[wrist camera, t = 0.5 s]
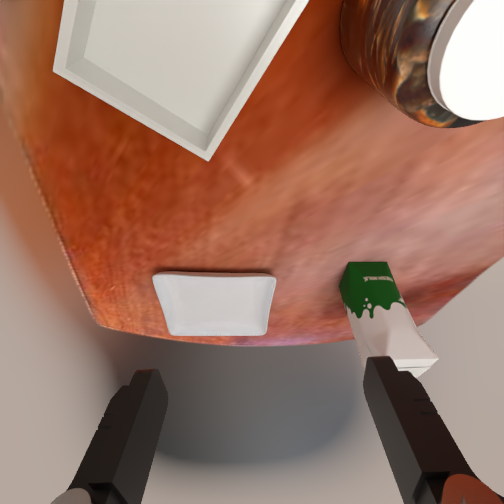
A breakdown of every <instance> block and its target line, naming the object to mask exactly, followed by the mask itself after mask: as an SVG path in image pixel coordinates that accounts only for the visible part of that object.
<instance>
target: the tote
mask: <svg viewBox="0 0 504 504" xmlns="http://www.w3.org/2000/svg"><path fill="white" fill-rule="evenodd" d="M308 1H309V0H64V6H63V12H62V18H61V24H60V30H59V36H58V42H57V48H56V54H55V60H54V66H53V72H55V73H56V74H58V75H60V76H62V77H63V78H65V79H67V80H69V81H70V82H72V83H74V84H75V85H77V86H79V87H81V88H82V89H84V90H86V91H87V92H89V93H91V94H93V95H94V96H96V97H98V98H100V99H101V100H103V101H105V102H106V103H108V104H110V105H112V106H113V107H115V108H117V109H118V110H120V111H122V112H124V113H125V114H127V115H129V116H131V117H132V118H134V119H136V120H137V121H139V122H141V123H143V124H144V125H146V126H148V127H149V128H151V129H153V130H155V131H156V132H158V133H160V134H162V135H163V136H165V137H167V138H168V139H170V140H172V141H174V142H175V143H177V144H179V145H180V146H182V147H184V148H186V149H187V150H189V151H191V152H193V153H194V154H196V155H198V156H199V157H201V158H203V159H205V160H206V161H208V162H209V160H210V159H211V157H212V155H213V154H214V152H215V150H216V149H217V147H218V146H219V144H220V142H221V141H222V139H223V138H224V136H225V134H226V133H227V131H228V130H229V128H230V126H231V125H232V123H233V122H234V120H235V118H236V117H237V115H238V114H239V112H240V110H241V109H242V107H243V105H244V104H245V102H246V101H247V99H248V97H249V96H250V94H251V93H252V91H253V89H254V88H255V86H256V85H257V83H258V81H259V80H260V78H261V77H262V75H263V73H264V72H265V70H266V69H267V67H268V65H269V64H270V62H271V61H272V59H273V57H274V56H275V54H276V52H277V51H278V49H279V48H280V46H281V44H282V43H283V41H284V40H285V38H286V36H287V35H288V33H289V32H290V30H291V28H292V27H293V25H294V24H295V22H296V20H297V19H298V17H299V16H300V14H301V12H302V11H303V9H304V8H305V6H306V4H307V3H308Z"/></svg>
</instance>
